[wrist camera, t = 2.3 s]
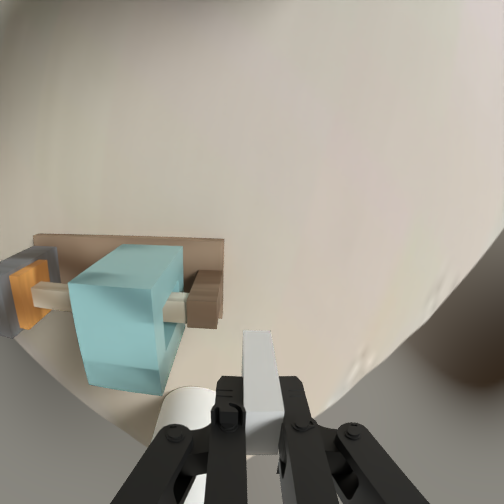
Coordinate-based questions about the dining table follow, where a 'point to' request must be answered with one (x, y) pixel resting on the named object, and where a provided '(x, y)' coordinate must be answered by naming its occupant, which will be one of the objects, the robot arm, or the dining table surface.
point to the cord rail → (89, 252)
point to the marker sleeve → (128, 317)
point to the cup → (188, 423)
